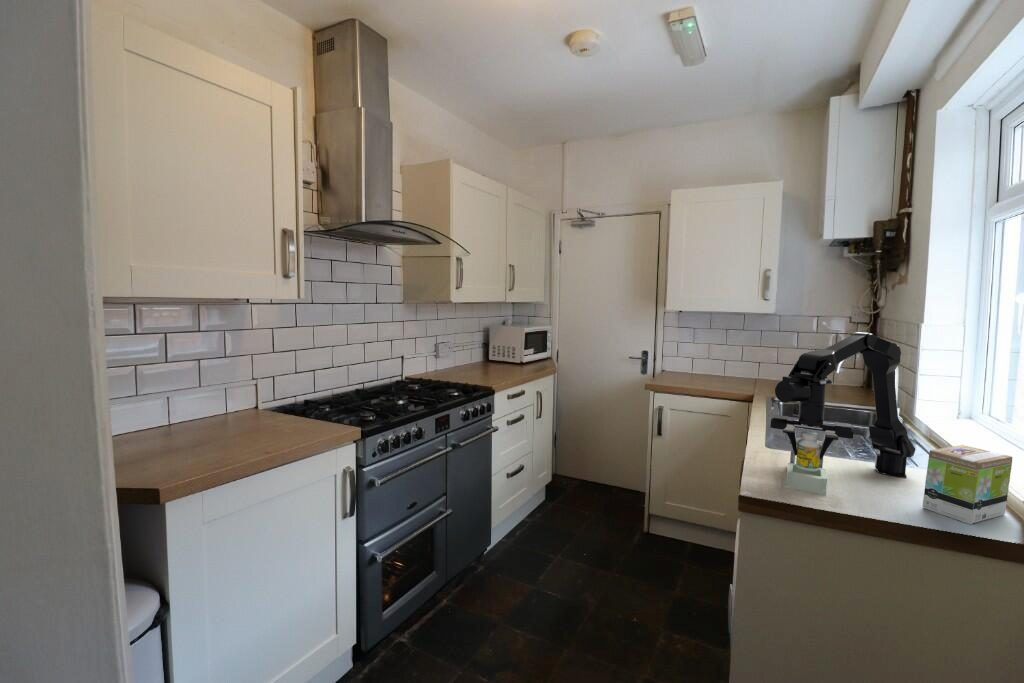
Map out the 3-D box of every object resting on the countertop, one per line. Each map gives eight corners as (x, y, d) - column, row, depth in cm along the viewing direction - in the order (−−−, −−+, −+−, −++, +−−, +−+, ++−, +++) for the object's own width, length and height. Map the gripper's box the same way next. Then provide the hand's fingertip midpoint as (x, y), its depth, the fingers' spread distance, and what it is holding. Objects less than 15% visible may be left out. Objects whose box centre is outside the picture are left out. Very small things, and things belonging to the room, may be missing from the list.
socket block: (823, 472, 140) (824, 459, 140) (826, 495, 123) (827, 480, 123) (788, 466, 145) (789, 453, 145) (785, 487, 128) (786, 473, 128)
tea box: (973, 526, 108) (980, 462, 106) (920, 508, 117) (926, 449, 116) (1007, 515, 114) (1014, 454, 112) (954, 499, 123) (960, 442, 122)
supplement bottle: (822, 469, 129) (825, 434, 128) (813, 473, 126) (815, 437, 125) (801, 463, 134) (804, 429, 133) (791, 466, 131) (794, 432, 130)
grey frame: (823, 469, 140) (825, 441, 140) (824, 475, 135) (826, 446, 135) (788, 463, 145) (790, 436, 144) (787, 468, 140) (789, 441, 139)
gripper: (852, 399, 130) (847, 455, 132) (774, 391, 140) (770, 443, 142) (855, 407, 121) (850, 467, 122) (772, 398, 131) (768, 454, 132)
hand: (808, 457), depth 130 cm, fingers closed on supplement bottle, 5 cm apart
